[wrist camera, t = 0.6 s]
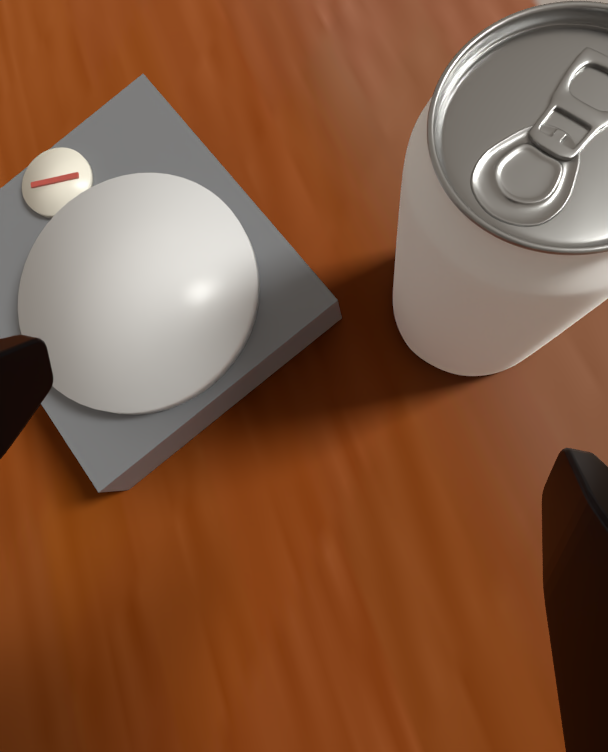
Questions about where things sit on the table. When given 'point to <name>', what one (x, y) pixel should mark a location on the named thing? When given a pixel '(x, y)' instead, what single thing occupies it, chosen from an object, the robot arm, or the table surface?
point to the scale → (147, 285)
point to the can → (507, 193)
